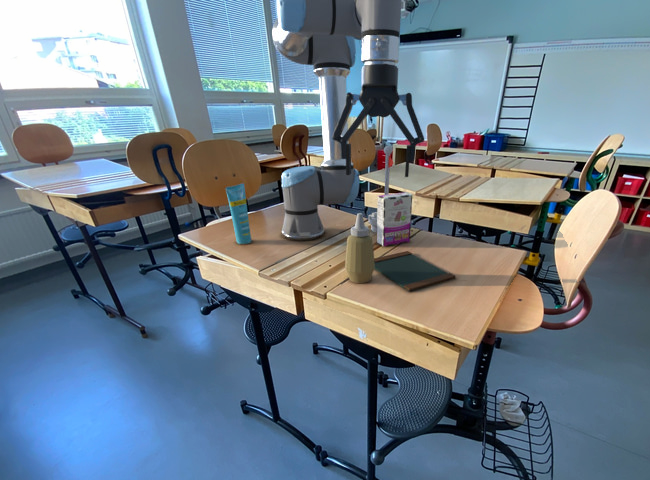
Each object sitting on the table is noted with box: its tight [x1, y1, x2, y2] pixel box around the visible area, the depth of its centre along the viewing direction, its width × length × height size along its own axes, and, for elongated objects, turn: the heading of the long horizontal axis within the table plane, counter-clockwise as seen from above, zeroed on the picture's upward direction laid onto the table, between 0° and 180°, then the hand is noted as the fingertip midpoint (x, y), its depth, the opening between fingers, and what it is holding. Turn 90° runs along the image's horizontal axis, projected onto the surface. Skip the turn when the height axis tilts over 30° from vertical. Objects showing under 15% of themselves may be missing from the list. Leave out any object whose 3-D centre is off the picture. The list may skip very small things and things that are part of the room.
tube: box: [225, 182, 252, 245], centre depth 113 cm, size 7×5×19 cm, turn 157°
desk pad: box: [374, 250, 456, 293], centre depth 98 cm, size 22×16×1 cm
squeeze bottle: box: [344, 212, 375, 284], centre depth 88 cm, size 8×8×18 cm
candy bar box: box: [376, 192, 413, 248], centre depth 115 cm, size 11×5×16 cm, turn 118°
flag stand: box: [368, 145, 394, 234], centre depth 125 cm, size 13×13×30 cm
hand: (377, 175), depth 79 cm, fingers open, 13 cm apart
